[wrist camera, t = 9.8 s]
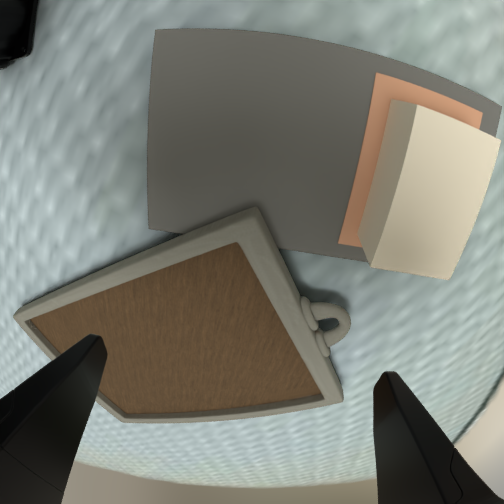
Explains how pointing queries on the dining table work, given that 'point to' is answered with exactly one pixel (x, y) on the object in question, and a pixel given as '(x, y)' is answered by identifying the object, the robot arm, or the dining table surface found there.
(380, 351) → the dining table surface
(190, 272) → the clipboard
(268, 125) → the mat
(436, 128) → the beige rectangular block
